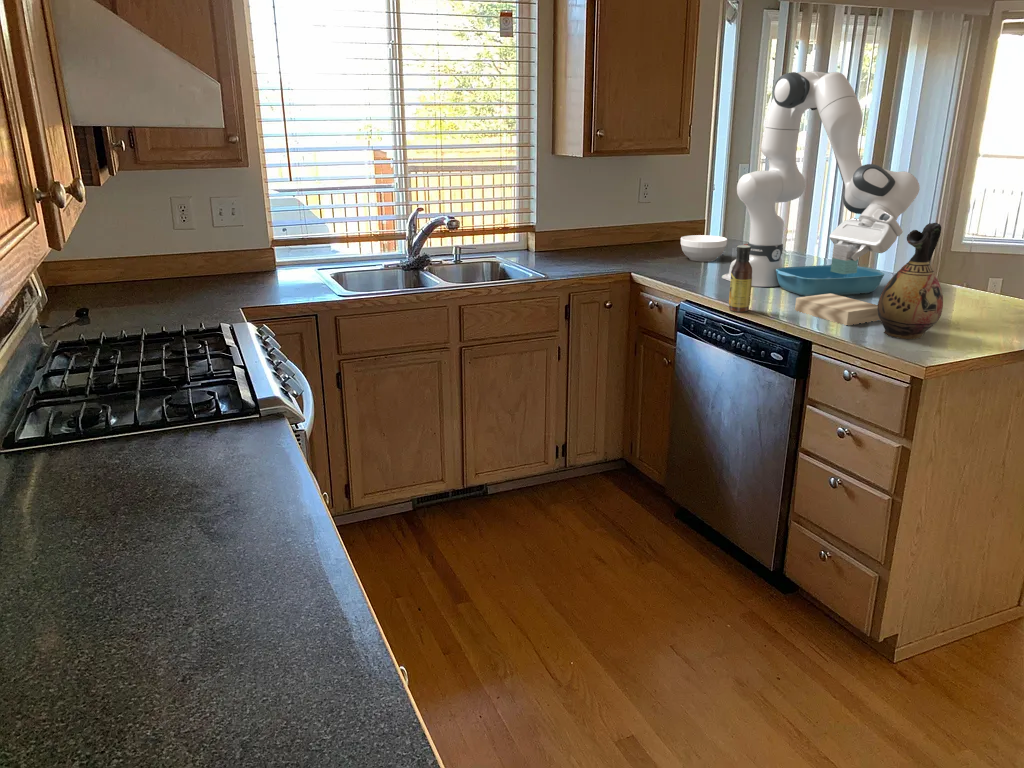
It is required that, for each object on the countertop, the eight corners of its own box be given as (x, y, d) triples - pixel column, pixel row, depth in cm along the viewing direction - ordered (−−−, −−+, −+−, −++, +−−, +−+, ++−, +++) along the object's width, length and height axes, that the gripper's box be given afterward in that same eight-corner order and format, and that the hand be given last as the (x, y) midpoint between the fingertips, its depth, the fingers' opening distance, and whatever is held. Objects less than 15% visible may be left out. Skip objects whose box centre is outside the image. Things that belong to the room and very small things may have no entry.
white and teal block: (830, 271, 222) (833, 244, 220) (843, 270, 224) (846, 243, 221) (843, 274, 218) (847, 246, 215) (856, 272, 220) (860, 245, 217)
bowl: (671, 257, 322) (672, 236, 319) (709, 254, 328) (711, 234, 325) (694, 264, 305) (695, 243, 302) (734, 261, 311) (736, 240, 308)
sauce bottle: (733, 306, 237) (738, 243, 230) (752, 309, 233) (758, 245, 226) (724, 310, 232) (729, 246, 225) (743, 313, 228) (750, 248, 221)
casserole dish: (851, 281, 273) (854, 261, 270) (895, 294, 252) (899, 273, 250) (760, 287, 264) (762, 267, 262) (799, 301, 244) (801, 279, 241)
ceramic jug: (918, 346, 194) (939, 229, 184) (862, 333, 206) (879, 222, 196) (951, 335, 203) (972, 223, 194) (895, 324, 215) (912, 217, 205)
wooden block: (794, 310, 231) (796, 297, 230) (828, 305, 237) (830, 293, 235) (846, 325, 214) (848, 312, 213) (882, 320, 219) (884, 306, 218)
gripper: (844, 210, 227) (813, 245, 227) (897, 217, 209) (864, 255, 209) (854, 224, 230) (823, 258, 230) (907, 233, 212) (874, 270, 212)
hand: (843, 257), depth 219 cm, fingers closed on white and teal block, 5 cm apart
